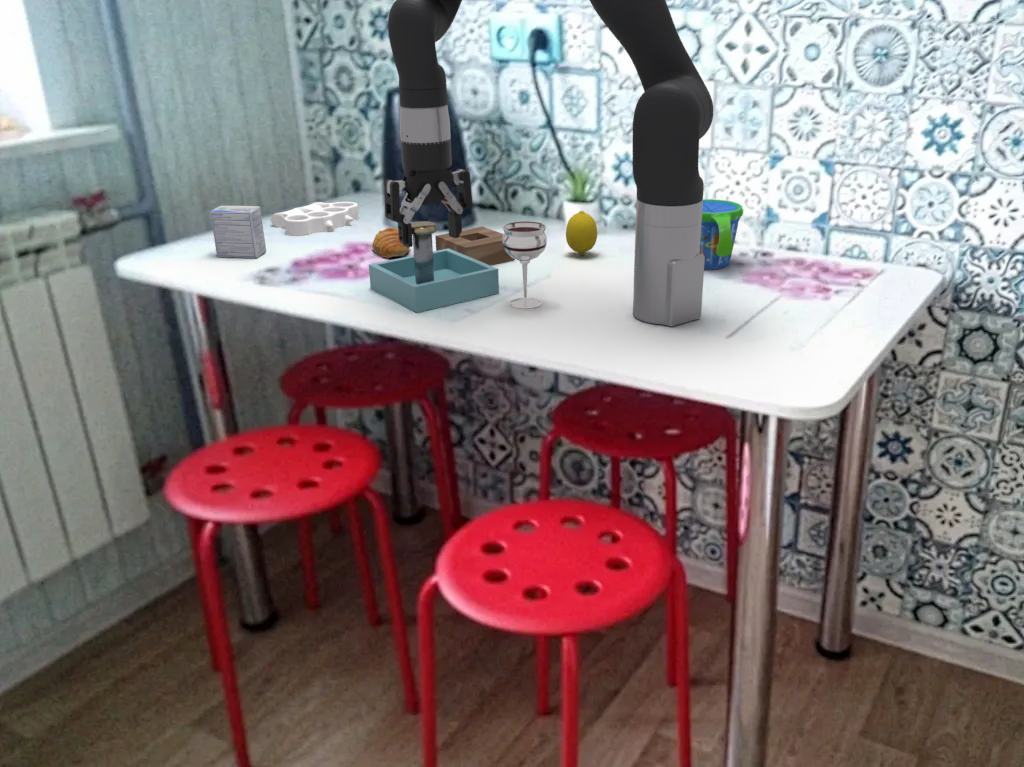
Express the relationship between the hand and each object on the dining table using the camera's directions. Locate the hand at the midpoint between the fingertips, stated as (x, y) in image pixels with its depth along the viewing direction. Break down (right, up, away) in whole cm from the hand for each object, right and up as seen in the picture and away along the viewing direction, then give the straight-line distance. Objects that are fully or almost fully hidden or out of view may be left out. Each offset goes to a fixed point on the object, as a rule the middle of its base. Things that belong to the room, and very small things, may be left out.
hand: (431, 241), depth 152 cm
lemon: (+25, 0, +20) cm, 32 cm away
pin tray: (0, -7, +3) cm, 8 cm away
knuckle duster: (-27, +9, +44) cm, 53 cm away
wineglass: (+15, -10, -3) cm, 18 cm away
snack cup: (+46, -2, +14) cm, 48 cm away
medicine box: (-37, +1, +25) cm, 44 cm away
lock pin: (-1, -7, +2) cm, 7 cm away
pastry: (-9, +2, +25) cm, 27 cm away
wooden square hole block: (+6, 0, +19) cm, 20 cm away
